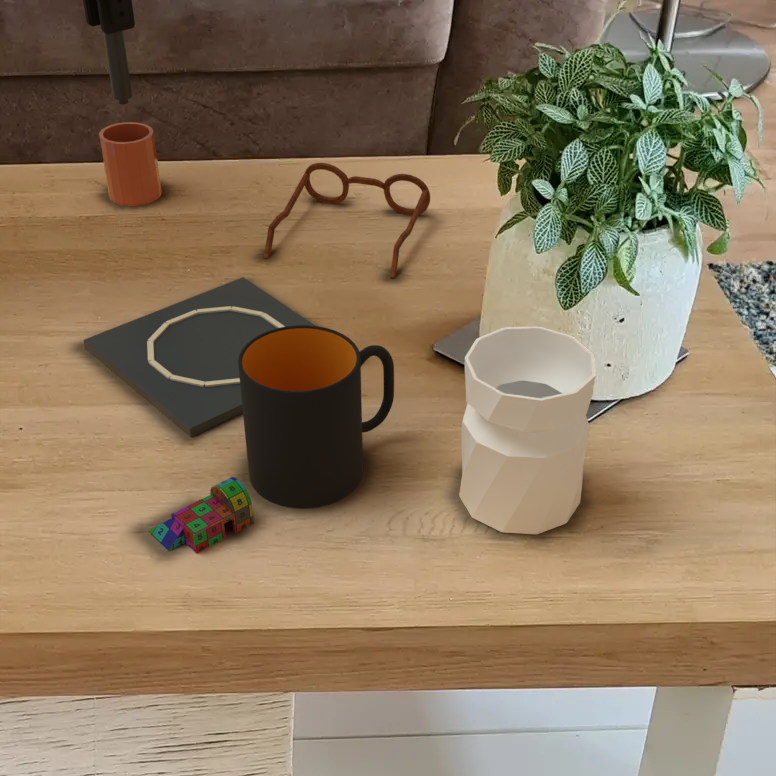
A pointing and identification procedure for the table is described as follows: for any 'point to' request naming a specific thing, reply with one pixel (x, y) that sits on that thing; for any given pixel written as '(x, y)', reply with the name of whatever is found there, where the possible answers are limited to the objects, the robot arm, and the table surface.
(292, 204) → the glasses
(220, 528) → the toy block structure
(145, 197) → the pen cup
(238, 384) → the board
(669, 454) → the table surface
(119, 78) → the marker
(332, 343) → the mug
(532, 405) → the vase
